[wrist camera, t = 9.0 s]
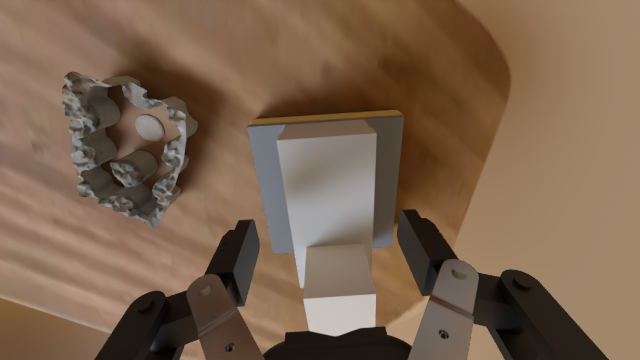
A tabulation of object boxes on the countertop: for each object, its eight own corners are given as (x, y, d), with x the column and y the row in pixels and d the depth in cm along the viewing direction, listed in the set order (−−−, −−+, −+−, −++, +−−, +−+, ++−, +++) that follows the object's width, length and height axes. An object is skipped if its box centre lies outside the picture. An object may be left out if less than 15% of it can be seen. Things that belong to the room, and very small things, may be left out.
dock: (255, 117, 19) (246, 125, 17) (395, 108, 19) (405, 115, 17) (277, 235, 25) (273, 253, 22) (385, 229, 24) (392, 247, 22)
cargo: (306, 247, 17) (303, 298, 13) (363, 243, 17) (375, 294, 13) (312, 286, 19) (311, 340, 15) (364, 282, 19) (374, 336, 15)
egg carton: (112, 60, 17) (58, 61, 14) (213, 112, 19) (188, 125, 16) (93, 175, 22) (48, 199, 18) (178, 209, 23) (152, 237, 20)
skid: (285, 122, 17) (276, 140, 13) (364, 116, 17) (376, 133, 13) (303, 250, 22) (300, 287, 19) (362, 247, 22) (370, 283, 19)
